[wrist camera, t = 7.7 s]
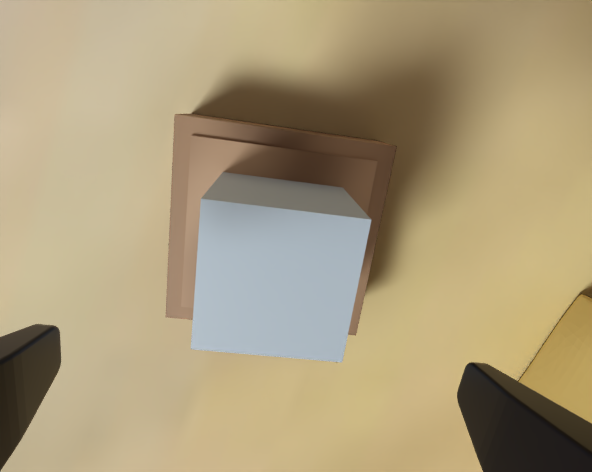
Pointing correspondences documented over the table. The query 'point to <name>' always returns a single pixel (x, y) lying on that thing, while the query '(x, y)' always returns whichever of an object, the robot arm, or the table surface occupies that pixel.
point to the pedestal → (270, 164)
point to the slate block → (277, 268)
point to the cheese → (566, 362)
